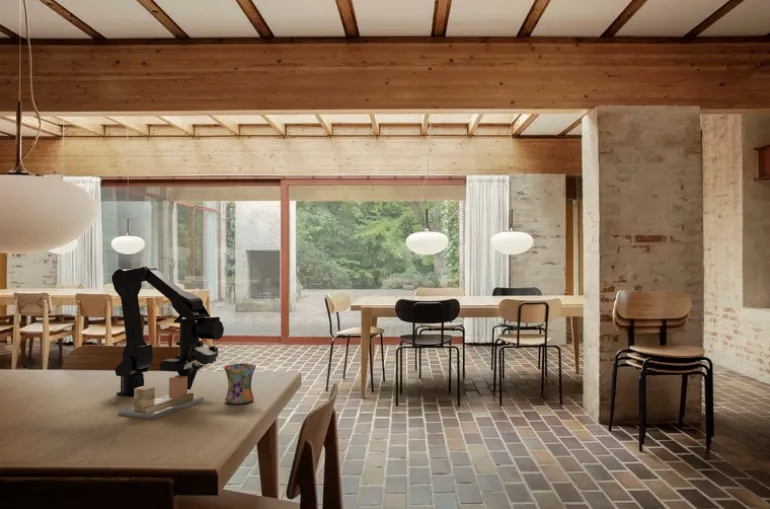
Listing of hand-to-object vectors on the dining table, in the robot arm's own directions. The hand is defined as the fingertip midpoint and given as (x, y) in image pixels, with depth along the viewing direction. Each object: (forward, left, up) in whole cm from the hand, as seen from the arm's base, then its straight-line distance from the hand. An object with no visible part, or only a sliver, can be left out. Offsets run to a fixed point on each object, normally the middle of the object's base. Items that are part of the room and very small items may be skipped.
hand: (188, 389), depth 161 cm
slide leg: (0, -4, -1) cm, 5 cm away
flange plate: (0, -10, -3) cm, 11 cm away
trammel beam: (+1, -10, -2) cm, 11 cm away
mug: (+15, +5, -3) cm, 16 cm away
